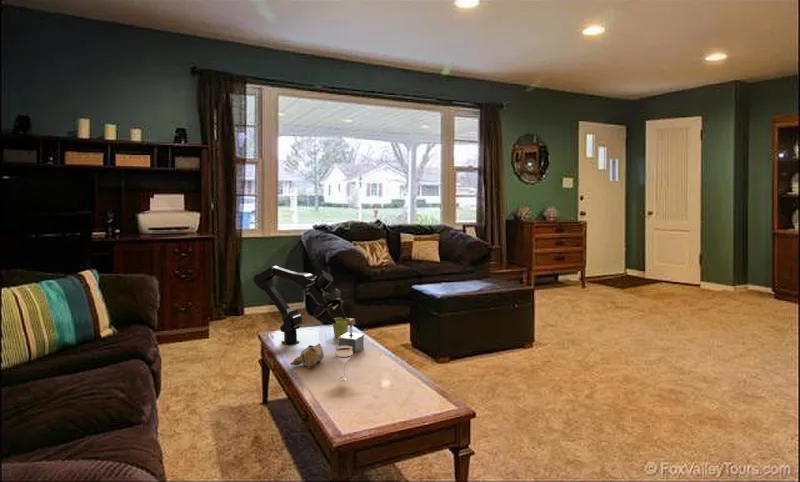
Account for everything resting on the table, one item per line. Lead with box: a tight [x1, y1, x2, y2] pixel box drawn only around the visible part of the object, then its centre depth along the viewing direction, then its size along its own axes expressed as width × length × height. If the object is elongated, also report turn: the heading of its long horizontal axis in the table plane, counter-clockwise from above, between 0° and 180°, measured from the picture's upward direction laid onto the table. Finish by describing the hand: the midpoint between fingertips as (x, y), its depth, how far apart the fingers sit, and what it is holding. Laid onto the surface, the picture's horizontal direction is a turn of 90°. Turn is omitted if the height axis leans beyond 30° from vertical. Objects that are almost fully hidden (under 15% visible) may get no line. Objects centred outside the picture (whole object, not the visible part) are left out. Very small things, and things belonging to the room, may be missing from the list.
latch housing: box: [337, 331, 365, 355], centre depth 234 cm, size 9×11×7 cm
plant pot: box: [331, 317, 349, 339], centre depth 255 cm, size 9×9×9 cm
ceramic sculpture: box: [289, 343, 325, 369], centre depth 213 cm, size 11×9×15 cm
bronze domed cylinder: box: [347, 317, 356, 336], centre depth 232 cm, size 4×4×9 cm
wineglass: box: [335, 345, 354, 381], centre depth 198 cm, size 7×7×12 cm
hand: (340, 320), depth 234 cm, fingers open, 9 cm apart
